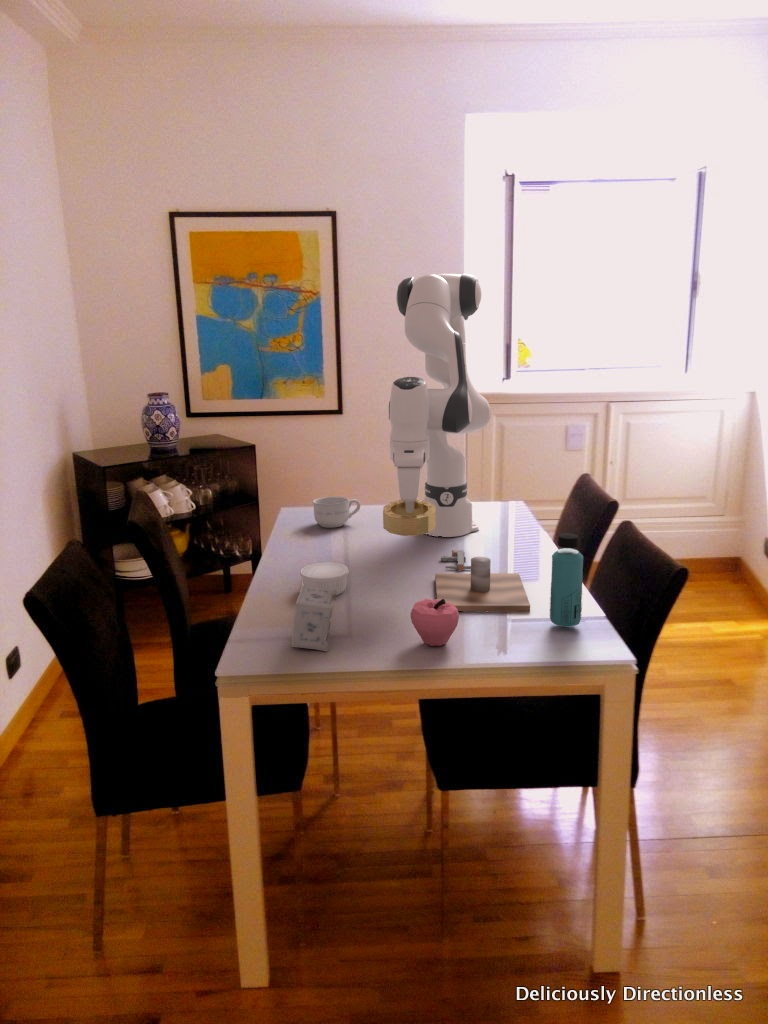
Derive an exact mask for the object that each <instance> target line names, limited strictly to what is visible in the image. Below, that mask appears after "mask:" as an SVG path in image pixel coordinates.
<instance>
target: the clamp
mask: <svg viewBox="0 0 768 1024" xmlns="http://www.w3.org/2000/svg"><path fill="white" fill-rule="evenodd" d="M466 557H467V556H465V551H464V549H462V550H461V549H458V550H457V549H452V550H451V556H449V555H441V556H440V561H441V562H449V561H448V560H453V561H458V563H457V565H446V566H445V569H451V570H457V571H458V570H463V569H464V570H471V565H465V562H466V559H467V558H466Z"/></svg>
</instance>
